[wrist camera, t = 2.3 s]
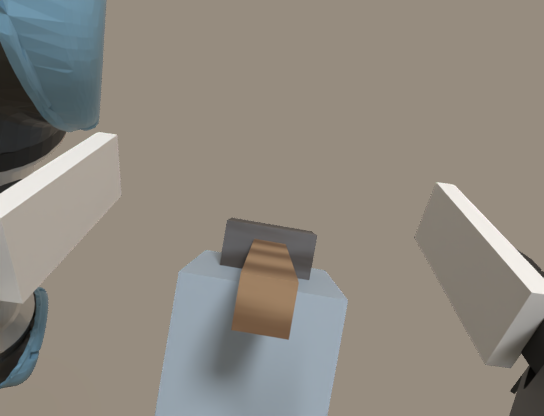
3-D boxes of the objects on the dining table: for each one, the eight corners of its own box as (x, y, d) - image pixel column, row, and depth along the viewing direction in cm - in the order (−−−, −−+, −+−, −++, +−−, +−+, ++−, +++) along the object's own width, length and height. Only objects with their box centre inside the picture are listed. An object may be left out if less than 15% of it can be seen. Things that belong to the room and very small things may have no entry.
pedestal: (292, 607, 34) (347, 300, 33) (126, 580, 34) (179, 271, 33) (286, 488, 48) (324, 270, 47) (168, 469, 48) (205, 249, 47)
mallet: (342, 348, 21) (357, 266, 21) (177, 320, 21) (191, 238, 21) (304, 271, 44) (311, 231, 44) (225, 257, 44) (231, 217, 44)
